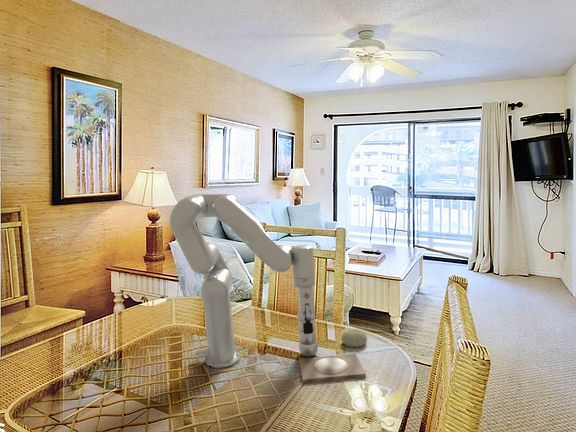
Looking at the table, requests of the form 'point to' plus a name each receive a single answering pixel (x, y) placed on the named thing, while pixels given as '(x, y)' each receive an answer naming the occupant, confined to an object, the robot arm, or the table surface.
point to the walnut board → (331, 368)
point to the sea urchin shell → (354, 338)
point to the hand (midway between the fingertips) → (307, 329)
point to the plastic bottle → (307, 337)
